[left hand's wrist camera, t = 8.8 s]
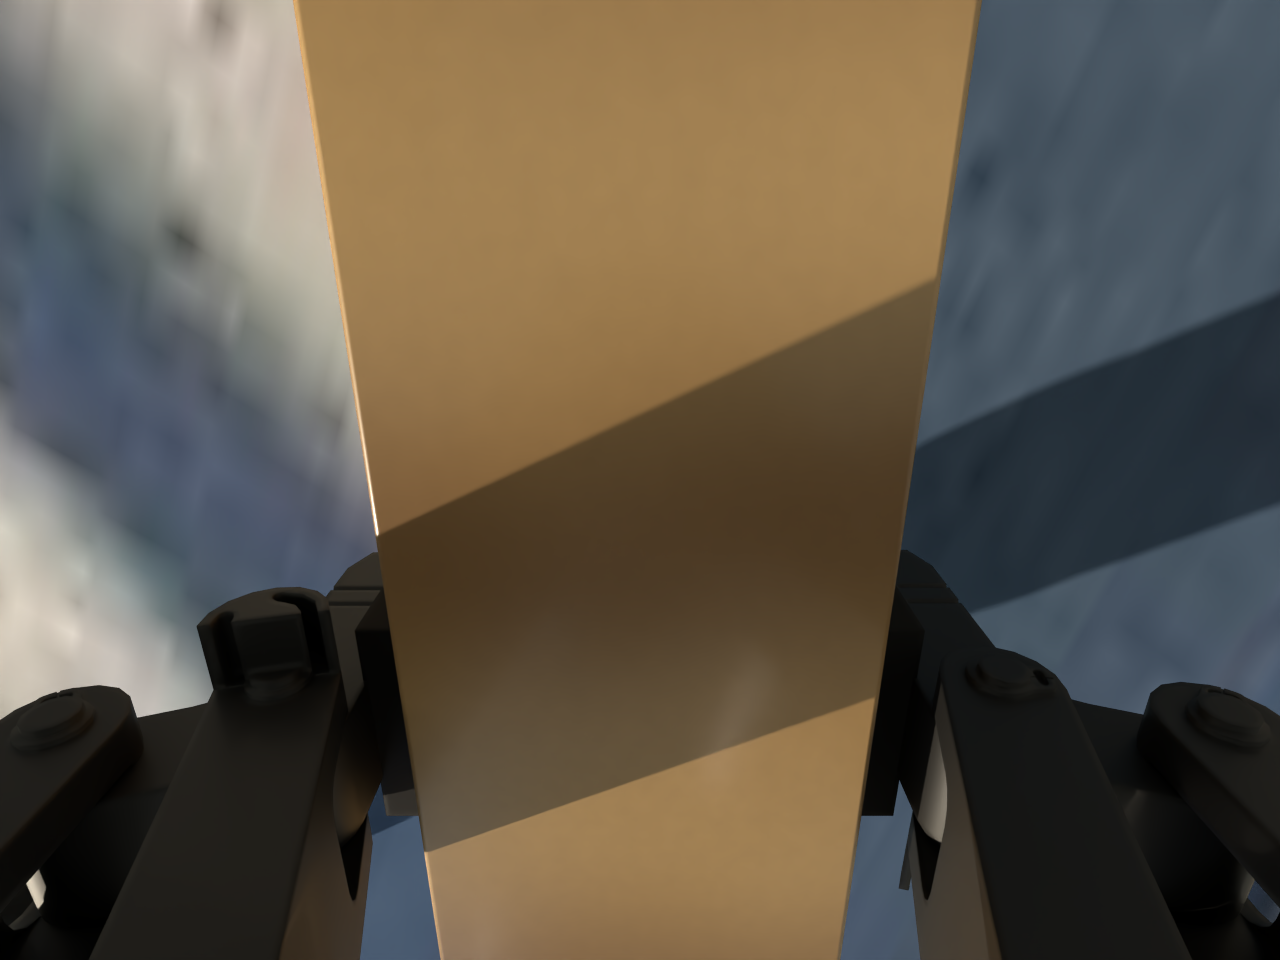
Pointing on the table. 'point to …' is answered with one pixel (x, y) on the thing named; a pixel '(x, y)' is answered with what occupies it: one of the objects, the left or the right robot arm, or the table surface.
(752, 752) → the bar
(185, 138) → the table surface
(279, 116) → the table surface
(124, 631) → the table surface
